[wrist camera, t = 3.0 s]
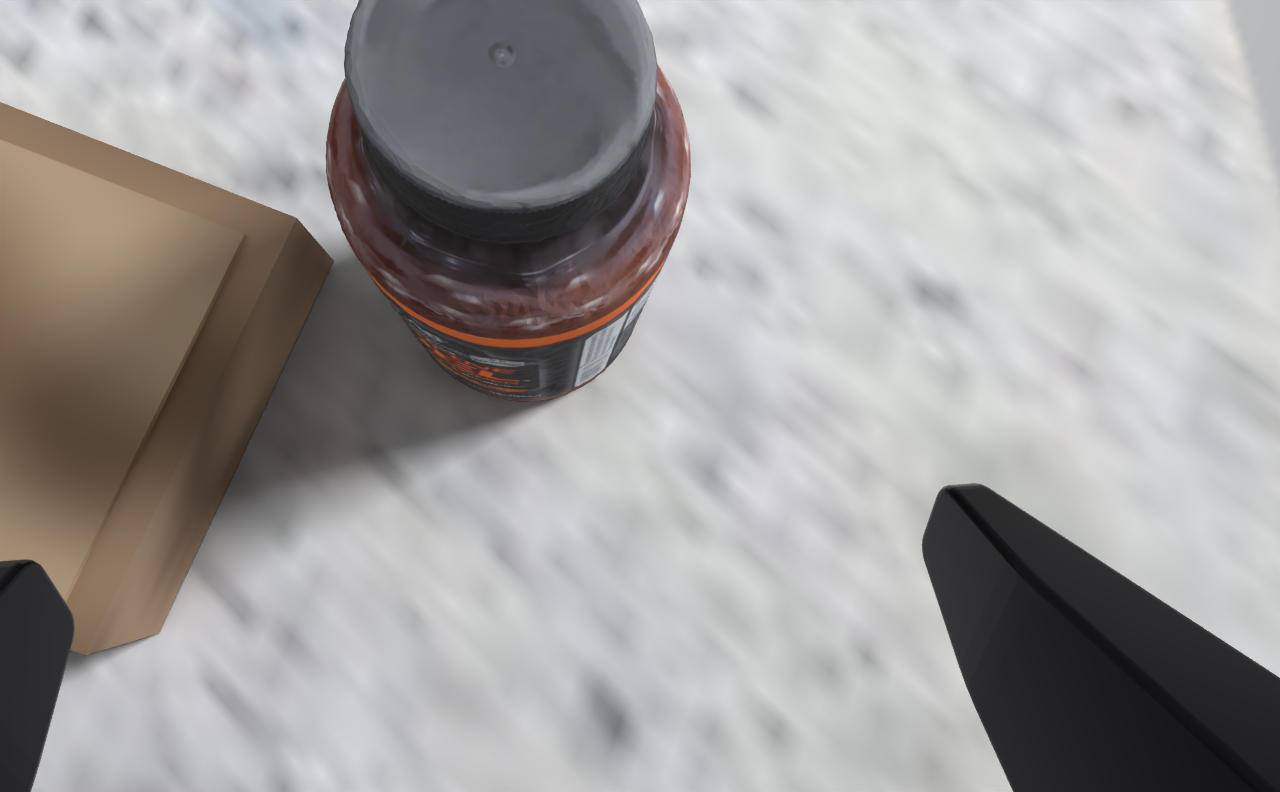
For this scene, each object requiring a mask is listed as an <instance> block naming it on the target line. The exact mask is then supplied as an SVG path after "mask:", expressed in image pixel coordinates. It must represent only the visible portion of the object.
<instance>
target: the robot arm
mask: <svg viewBox="0 0 1280 792" xmlns="http://www.w3.org/2000/svg"><path fill="white" fill-rule="evenodd" d="M922 552H923V558H924V561H925V564H926V567H927V570H928V574H929V577H930V580H931V583H932V586H933V589H934V592H935V595H936V598H937V601H938V604H939V607H940V610H941V613H942V616H943V619H944V622H945V625H946V628H947V631H948V634H949V637H950V640H951V643H952V646H953V649H954V652H955V656H956V659H957V662H958V665H959V668H960V670H961V673H962V676H963V679H964V681H965V684H966V687H967V689H968V692H969V694H970V696H971V699H972V701H973V704H974V706H975V708H976V711H977V713H978V715H979V717H980V719H981V722H982V724H983V726H984V728H985V730H986V733H987V735H988V737H989V739H990V741H991V744H992V746H993V748H994V750H995V753H996V755H997V757H998V759H999V761H1000V764H1001V766H1002V768H1003V770H1004V772H1005V775H1006V777H1007V779H1008V781H1009V783H1010V786H1011V788H1012V790H1013V792H1280V678H1279V677H1278V676H1276V675H1275V674H1273V673H1272V672H1270V671H1269V670H1267V669H1265V668H1264V667H1262V666H1261V665H1259V664H1258V663H1256V662H1255V661H1253V660H1252V659H1250V658H1249V657H1247V656H1246V655H1244V654H1242V653H1241V652H1239V651H1238V650H1236V649H1235V648H1233V647H1232V646H1230V645H1229V644H1227V643H1226V642H1224V641H1223V640H1221V639H1219V638H1218V637H1216V636H1215V635H1213V634H1212V633H1210V632H1209V631H1207V630H1206V629H1204V628H1203V627H1201V626H1200V625H1198V624H1196V623H1195V622H1193V621H1192V620H1190V619H1189V618H1187V617H1186V616H1184V615H1183V614H1181V613H1180V612H1178V611H1177V610H1175V609H1174V608H1172V607H1170V606H1169V605H1167V604H1166V603H1164V602H1163V601H1161V600H1160V599H1158V598H1157V597H1155V596H1154V595H1152V594H1151V593H1149V592H1147V591H1146V590H1144V589H1143V588H1141V587H1140V586H1138V585H1137V584H1135V583H1134V582H1132V581H1131V580H1129V579H1128V578H1126V577H1124V576H1123V575H1121V574H1120V573H1118V572H1117V571H1115V570H1114V569H1112V568H1111V567H1109V566H1108V565H1106V564H1105V563H1103V562H1101V561H1100V560H1098V559H1097V558H1095V557H1094V556H1092V555H1091V554H1089V553H1088V552H1086V551H1085V550H1083V549H1082V548H1080V547H1079V546H1077V545H1075V544H1074V543H1072V542H1071V541H1069V540H1068V539H1066V538H1065V537H1063V536H1062V535H1060V534H1059V533H1057V532H1056V531H1054V530H1052V529H1051V528H1049V527H1048V526H1046V525H1045V524H1043V523H1042V522H1040V521H1039V520H1037V519H1036V518H1034V517H1033V516H1031V515H1029V514H1028V513H1026V512H1025V511H1023V510H1022V509H1020V508H1019V507H1017V506H1016V505H1014V504H1013V503H1011V502H1010V501H1008V500H1006V499H1005V498H1003V497H1002V496H1000V495H999V494H997V493H996V492H994V491H993V490H991V489H990V488H988V487H986V486H984V485H982V484H977V483H972V484H959V485H948V486H945V487H943V488H942V489H941V490H940V491H939V493H938V495H937V497H936V500H935V503H934V506H933V509H932V512H931V515H930V518H929V521H928V524H927V527H926V529H925V532H924V535H923V541H922ZM74 629H75V626H74V619H73V615H72V612H71V610H70V608H69V607H68V605H67V604H66V602H65V601H64V599H63V598H62V596H61V595H60V593H59V591H58V590H57V588H56V587H55V585H54V584H53V582H52V581H51V579H50V578H49V576H48V575H47V573H46V571H45V570H44V568H43V567H42V566H41V565H40V564H38V563H36V562H35V561H33V560H28V559H22V560H10V561H0V792H31V789H32V786H33V783H34V780H35V777H36V773H37V770H38V767H39V763H40V759H41V756H42V752H43V748H44V745H45V741H46V737H47V734H48V730H49V726H50V723H51V719H52V715H53V712H54V708H55V704H56V701H57V697H58V693H59V690H60V686H61V682H62V679H63V675H64V671H65V668H66V664H67V660H68V657H69V653H70V649H71V646H72V642H73V638H74Z"/></svg>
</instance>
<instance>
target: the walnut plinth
mask: <svg viewBox="0 0 1280 792" xmlns="http://www.w3.org/2000/svg"><path fill="white" fill-rule="evenodd" d="M332 263H333V259H332V258H331V257H330V256H329V255H328V254H327V252H326V251H325V250H324V249H323V248H322V247H321V246H320V244H319V243H318V242H317V241H316V240H315V239H314V237H313V236H312V235H311V234H310V233H309V232H308V231H307V229H306V228H305V227H304V226H303V225H302V224H301V222H300V221H299V220H298V219H297V218H295V217H293V216H290V215H288V214H285V213H282V212H280V211H277V210H275V209H272V208H270V207H267V206H264V205H262V204H259V203H257V202H254V201H252V200H249V199H247V198H244V197H241V196H239V195H236V194H234V193H231V192H229V191H226V190H224V189H221V188H218V187H216V186H213V185H211V184H208V183H206V182H203V181H201V180H198V179H195V178H193V177H190V176H188V175H185V174H183V173H180V172H177V171H175V170H172V169H170V168H167V167H165V166H162V165H160V164H157V163H154V162H152V161H149V160H147V159H144V158H142V157H139V156H137V155H134V154H131V153H129V152H126V151H124V150H121V149H119V148H116V147H114V146H111V145H108V144H106V143H103V142H101V141H98V140H96V139H93V138H90V137H88V136H85V135H83V134H80V133H78V132H75V131H73V130H70V129H67V128H65V127H62V126H60V125H57V124H55V123H52V122H50V121H47V120H44V119H42V118H39V117H37V116H34V115H32V114H29V113H27V112H24V111H21V110H19V109H16V108H14V107H11V106H9V105H6V104H3V103H1V102H0V561H10V560H22V559H28V560H33V561H35V562H36V563H38V564H40V565H41V566H42V567H43V568H44V570H45V571H46V573H47V575H48V576H49V578H50V579H51V581H52V582H53V584H54V585H55V587H56V588H57V590H58V591H59V593H60V595H61V596H62V598H63V599H64V601H65V602H66V604H67V605H68V607H69V608H70V610H71V612H72V615H73V619H74V626H75V629H74V638H73V642H72V646H71V649H70V650H71V651H74V652H77V653H79V654H82V655H85V656H86V655H89V654H92V653H96V652H99V651H102V650H106V649H109V648H112V647H116V646H119V645H122V644H126V643H129V642H132V641H136V640H139V639H142V638H146V637H149V636H152V635H156V634H159V632H160V630H161V628H162V626H163V624H164V622H165V619H166V617H167V615H168V613H169V611H170V609H171V607H172V605H173V602H174V600H175V598H176V596H177V594H178V592H179V590H180V587H181V585H182V583H183V581H184V579H185V577H186V575H187V573H188V570H189V568H190V566H191V564H192V562H193V560H194V558H195V555H196V553H197V551H198V549H199V547H200V545H201V543H202V541H203V538H204V536H205V534H206V532H207V530H208V528H209V526H210V523H211V521H212V519H213V517H214V515H215V513H216V511H217V509H218V506H219V504H220V502H221V500H222V498H223V496H224V494H225V491H226V489H227V487H228V485H229V483H230V481H231V479H232V477H233V474H234V472H235V470H236V468H237V466H238V464H239V462H240V459H241V457H242V455H243V453H244V451H245V449H246V447H247V445H248V442H249V440H250V438H251V436H252V434H253V432H254V430H255V427H256V425H257V423H258V421H259V419H260V417H261V415H262V413H263V410H264V408H265V406H266V404H267V402H268V400H269V398H270V395H271V393H272V391H273V389H274V387H275V385H276V383H277V381H278V378H279V376H280V374H281V372H282V370H283V368H284V366H285V363H286V361H287V359H288V357H289V355H290V353H291V351H292V349H293V346H294V344H295V342H296V340H297V338H298V336H299V334H300V331H301V329H302V327H303V325H304V323H305V321H306V319H307V317H308V314H309V312H310V310H311V308H312V306H313V304H314V302H315V299H316V297H317V295H318V293H319V291H320V289H321V287H322V285H323V282H324V280H325V278H326V276H327V274H328V272H329V270H330V267H331V265H332Z"/></svg>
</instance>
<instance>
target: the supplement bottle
mask: <svg viewBox="0 0 1280 792" xmlns="http://www.w3.org/2000/svg"><path fill="white" fill-rule="evenodd" d="M344 69H345V79H344V81H343V83H342V85H341V88H340V90H339V92H338V95H337V97H336V100H335V103H334V106H333V109H332V113H331V118H330V123H329V129H328V135H327V142H326V173H327V180H328V186H329V190H330V195H331V199H332V201H333V204H334V208H335V211H336V213H337V217H338V220H339V221H340V224H341V228H342V231H343V232H344V234H345V236H346V238H347V240H348V242H349V244H350V246H351V248H352V250H353V251H354V253H355V254H356V256H357V258H358V259H359V261H360V262H361V263H362V265H363V266H364V268H365V269H366V270H367V272H368V273H369V275H370V276H371V278H372V279H373V281H374V282H375V284H376V286H377V287H378V288H379V289H380V291H381V292H382V293H383V294H384V295H385V296H386V298H387V299H388V300H389V301H390V303H391V305H392V307H393V308H394V309H395V310H396V311H397V312H398V313H399V314H400V315H401V316H402V318H403V320H404V321H405V322H406V324H407V325H408V326H409V328H410V329H411V331H412V332H413V333H414V334H415V336H416V337H417V339H418V340H419V342H420V343H421V344H422V345H423V346H424V347H425V349H426V350H427V352H428V353H429V354H430V355H431V357H432V358H433V359H434V360H435V361H436V362H437V363H438V364H439V365H441V367H442V368H443V370H445V371H446V372H448V373H449V374H450V375H451V376H452V377H453V378H454V379H456V380H458V381H460V382H462V383H463V384H465V385H467V386H468V387H470V388H473V389H475V390H477V391H480V392H482V393H484V394H487V395H490V396H494V397H497V398H502V399H507V400H515V401H537V400H547V399H552V398H555V397H559V396H562V395H566V394H568V393H570V392H572V391H574V390H576V389H578V388H580V387H582V386H584V385H586V384H587V383H589V382H590V381H592V380H594V379H595V378H596V377H597V376H598V375H599V374H601V373H602V372H604V371H605V369H606V368H607V367H608V366H609V365H610V364H611V363H612V362H613V361H614V360H615V358H616V357H617V356H618V355H619V353H620V352H621V350H622V349H623V348H624V346H625V345H626V343H627V341H628V339H629V337H630V335H631V334H632V331H633V328H634V326H635V324H636V322H637V320H638V318H639V315H640V313H641V312H642V309H643V307H644V305H645V303H646V301H647V299H648V297H649V294H650V292H651V290H652V288H653V286H654V283H655V281H656V279H657V277H658V275H659V273H660V271H661V269H662V267H663V265H664V263H665V261H666V259H667V256H668V254H669V251H670V249H671V247H672V245H673V243H674V240H675V238H676V236H677V234H678V231H679V228H680V225H681V221H682V218H683V214H684V210H685V206H686V202H687V197H688V191H689V184H690V177H691V164H690V143H689V137H688V132H687V128H686V124H685V121H684V118H683V114H682V110H681V107H680V104H679V102H678V99H677V97H676V95H675V93H674V90H673V88H672V87H671V85H670V84H669V82H668V80H667V79H666V77H665V75H664V74H663V72H662V71H661V69H660V68H659V66H658V65H657V60H656V54H655V48H654V42H653V37H652V33H651V31H650V29H649V27H648V24H647V22H646V20H645V17H644V15H643V13H642V10H641V8H640V6H639V3H638V2H637V0H359V2H358V5H357V7H356V9H355V11H354V13H353V15H352V19H351V22H350V27H349V30H348V34H347V40H346V45H345V60H344Z"/></svg>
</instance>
